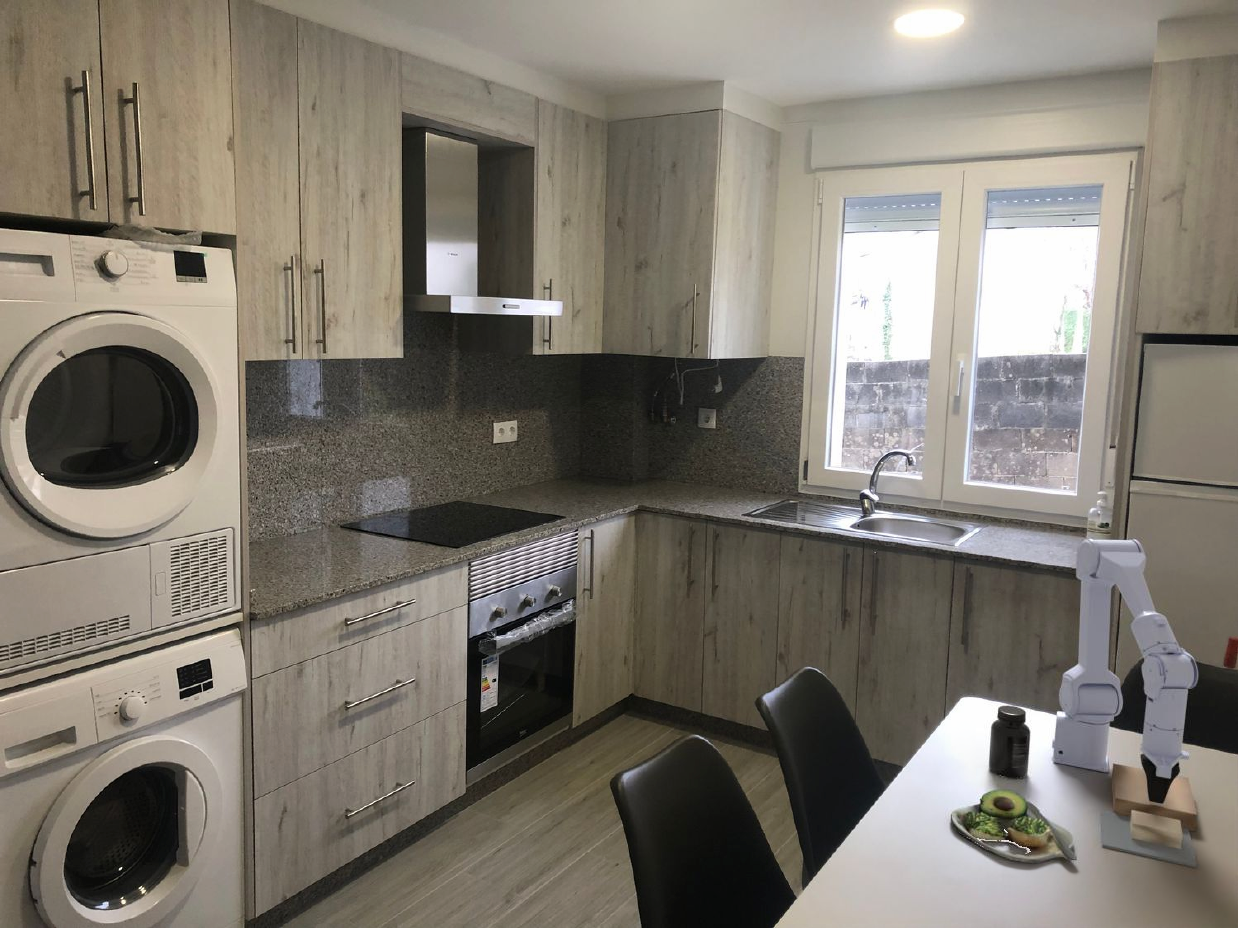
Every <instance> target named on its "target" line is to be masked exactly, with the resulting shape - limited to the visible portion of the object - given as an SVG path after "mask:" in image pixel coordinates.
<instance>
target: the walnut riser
mask: <svg viewBox="0 0 1238 928" xmlns="http://www.w3.org/2000/svg"><path fill="white" fill-rule="evenodd" d="M1111 770H1112V772H1111V789H1112V790H1111V791H1112V805H1113V806H1112V807H1113V813H1116V814H1121V815H1125V816H1130V817H1131V811H1132V810H1134V811H1139V812H1144V813H1148V814H1153V815H1158V816H1162V817H1167V818H1172V819H1177V820H1180V823H1181V827H1182V828H1187V829H1189V832H1196V828H1197V819H1198V813H1197V812H1198V811H1197V809H1196V805H1195V800H1194V795H1193V792H1192V788H1191V783H1190V780H1189V777H1186V776H1182V775H1178V776H1177V777H1176V778H1175V779H1174V780H1173V782H1172V783H1171V785H1170V788H1169V790H1168V793H1167V796H1166V799H1165V801H1164V803H1163V804H1160V803H1155V802H1150V801H1149V798H1148V791H1147V778H1146V774H1145V771H1144V769H1143V768H1140V767H1134V766H1129V765H1123V764H1120V763H1119V764H1118V763H1112V769H1111Z"/></svg>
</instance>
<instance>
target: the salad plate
mask: <svg viewBox="0 0 1238 928" xmlns="http://www.w3.org/2000/svg"><path fill="white" fill-rule="evenodd" d="M979 801H980V802H979V803H977V804H974V805H969V806H965V807H961V808H957V809H955V810H953V811H952V812H951V814H950V822H951V825H952V827H953V826H954V827H955V828H956V829H955V828H954V827H953V828H954V829H955V830H956V831H957V832H958V833H959V832H960V833H961V834H962V835H963V836H962V835H961V834H960V833H959V834H960V835H961V836H962V837H964V836H965V837H968V838H970V839H971V840H973V841H974V842H976V843H978V844H979V845H981V846H983V847H984V848H986V849H988V850H990V851H992V852H991V853H993V852H994V853H993V854H995V853H996V854H995V855H997V854H998V856H999V855H1000V856H999V857H1001V856H1002V857H1001V858H1003V857H1005V858H1004V859H1006V858H1008V859H1007V860H1009V859H1011V860H1010V861H1013V860H1016V861H1015V862H1017V861H1021V862H1020V863H1024V862H1030V863H1029V864H1038V863H1037V862H1040V863H1043V862H1042V861H1044V862H1046V860H1047V861H1050V860H1053V858H1054V859H1058V858H1065V859H1067V860H1068V861H1077V860H1078V857H1077V855H1076V854H1075V853H1074V851H1073V850H1072V848H1073V847H1074V846H1075V842H1074V841H1075V840H1074V836H1073V833H1072V832H1071V831H1070V830H1069V829H1066V828H1065V827H1063V826H1062V825H1060V824H1058V823H1056V822H1054V821H1053V820H1050V819H1048V818H1047V817H1045V816H1044V815H1043V814H1042V813H1041V812H1040V811H1041V810H1039V808H1038V807H1037V806H1036V805H1035V804H1033V803H1032V802H1030V801H1027V800H1026V799H1025V797H1023V796H1022V794H1019V793H1018V792H1015V791H1012V790H1010V789H994V790H990V791H987V792H986V793H984V794H982V795H981V798H979ZM1004 829H1005V830H1006V831H1007V832H1008V833H1006V832H1005V831H1004ZM965 837H964V838H965ZM977 838H979V839H985V840H997V841H999V840H1000V841H1001V840H1009V841H1011V842H1015V843H1016V844H1018V845H1019V846H1022V847H1027V848H1029V849H1030V851H1031V852H1029V853H1027V854H1024V853H1023V854H1024V855H1022V854H1020V853H1019V854H1017V853H1015V852H1014V853H1013V852H1010V851H1006V850H1001V849H998V848H995V847H993V846H990V845H989V844H987V843H985V844H984V841H982V842H981V841H979V840H978V839H977ZM971 840H970V841H971ZM974 842H973V843H974ZM976 843H975V844H976ZM986 844H987V845H986ZM979 845H978V846H979ZM981 846H980V847H981ZM983 847H982V848H983ZM984 848H983V849H984ZM986 849H985V850H986ZM988 850H987V851H988ZM990 851H989V852H990ZM1049 859H1050V860H1049Z"/></svg>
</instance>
